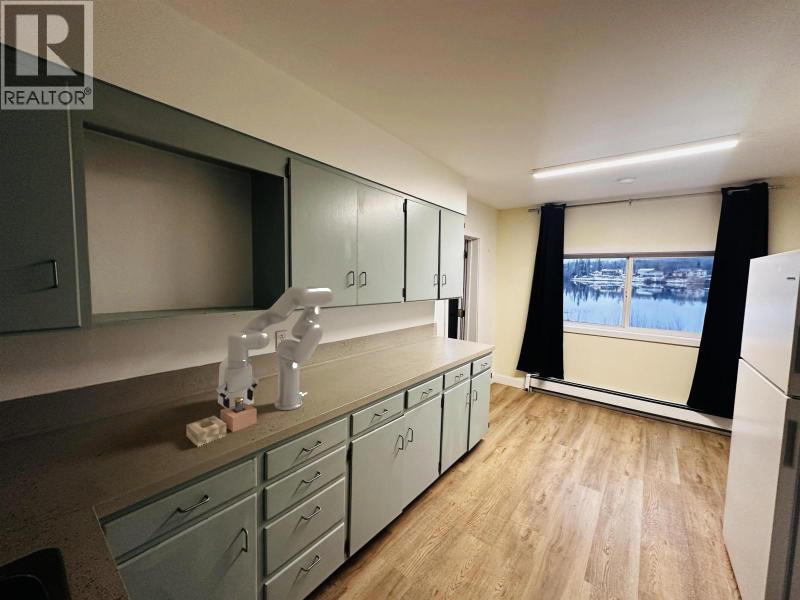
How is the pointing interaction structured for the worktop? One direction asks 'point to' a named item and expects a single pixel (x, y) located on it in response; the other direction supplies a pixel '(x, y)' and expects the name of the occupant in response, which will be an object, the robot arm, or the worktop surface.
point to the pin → (238, 404)
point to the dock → (239, 417)
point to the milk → (236, 394)
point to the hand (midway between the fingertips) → (238, 403)
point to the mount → (206, 430)
